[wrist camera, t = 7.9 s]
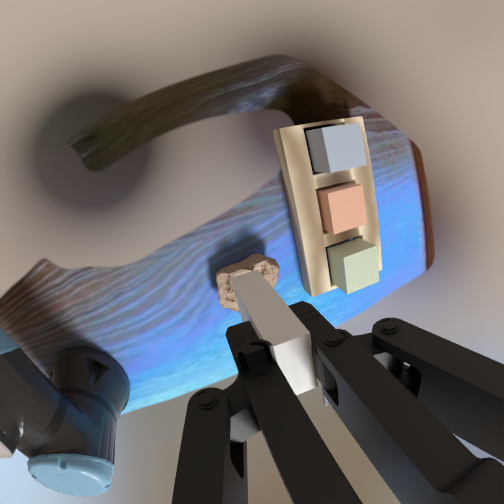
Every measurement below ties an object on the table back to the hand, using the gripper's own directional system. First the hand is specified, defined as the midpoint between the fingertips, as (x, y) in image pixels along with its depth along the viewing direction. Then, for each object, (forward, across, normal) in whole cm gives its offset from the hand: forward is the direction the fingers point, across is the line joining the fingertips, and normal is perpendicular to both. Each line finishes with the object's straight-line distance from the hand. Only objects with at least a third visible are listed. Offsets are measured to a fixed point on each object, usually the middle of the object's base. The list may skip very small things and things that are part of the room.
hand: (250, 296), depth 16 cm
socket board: (+28, +20, -4) cm, 35 cm away
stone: (+29, +4, -12) cm, 32 cm away
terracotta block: (+28, +20, -4) cm, 35 cm away
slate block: (+26, +20, +5) cm, 33 cm away
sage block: (+26, +20, -13) cm, 35 cm away
